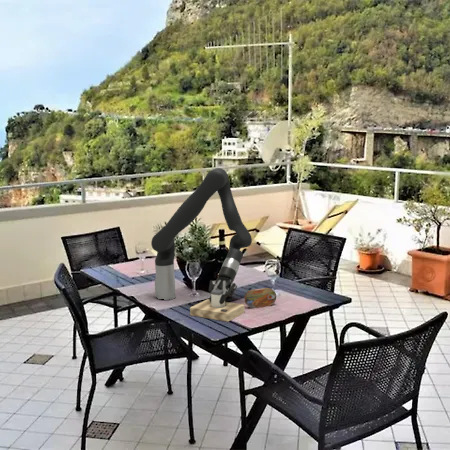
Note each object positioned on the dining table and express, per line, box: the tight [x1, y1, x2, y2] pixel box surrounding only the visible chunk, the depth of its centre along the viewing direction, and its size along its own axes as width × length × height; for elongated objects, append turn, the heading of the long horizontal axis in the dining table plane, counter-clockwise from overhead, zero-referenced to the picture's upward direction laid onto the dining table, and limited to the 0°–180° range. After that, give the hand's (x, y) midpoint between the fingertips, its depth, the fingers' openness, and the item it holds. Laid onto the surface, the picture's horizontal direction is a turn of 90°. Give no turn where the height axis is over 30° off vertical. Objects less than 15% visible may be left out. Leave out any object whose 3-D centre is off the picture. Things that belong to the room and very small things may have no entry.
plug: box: [210, 288, 226, 308], centre depth 252 cm, size 4×4×9 cm
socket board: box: [189, 299, 246, 322], centre depth 251 cm, size 20×14×4 cm
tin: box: [243, 287, 277, 309], centre depth 260 cm, size 15×3×8 cm, turn 106°
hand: (215, 302), depth 250 cm, fingers open, 4 cm apart
